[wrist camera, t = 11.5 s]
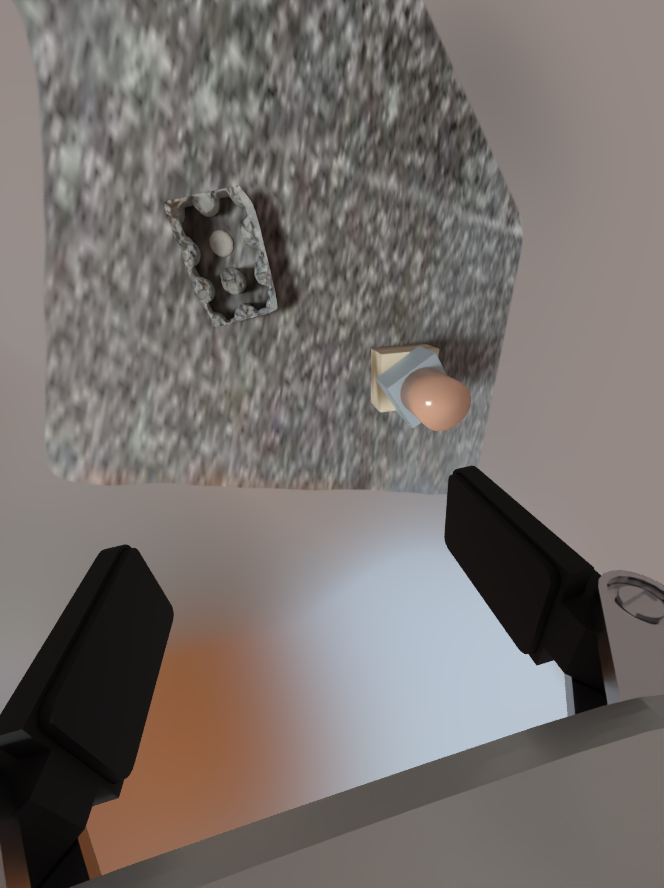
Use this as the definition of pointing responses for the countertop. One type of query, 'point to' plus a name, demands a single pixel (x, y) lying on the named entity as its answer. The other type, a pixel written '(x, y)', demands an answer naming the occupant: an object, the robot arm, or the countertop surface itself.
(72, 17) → the countertop surface
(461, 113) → the countertop surface
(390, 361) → the tower base block
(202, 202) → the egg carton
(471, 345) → the countertop surface
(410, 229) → the countertop surface
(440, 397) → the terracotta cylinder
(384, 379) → the tower top block
